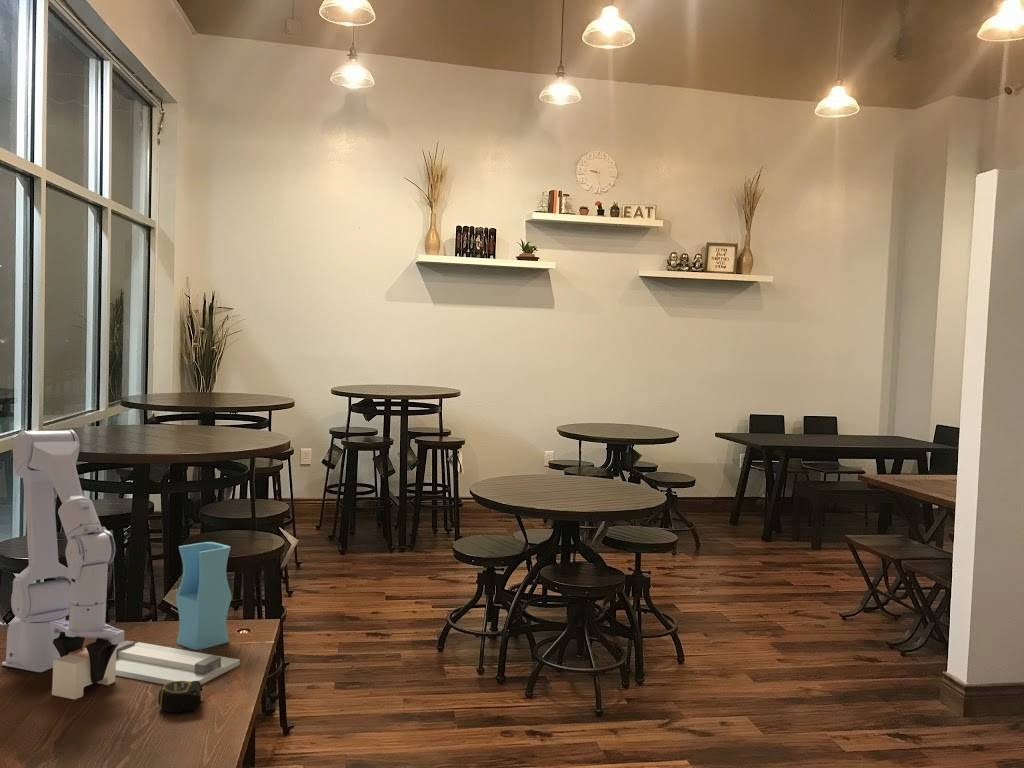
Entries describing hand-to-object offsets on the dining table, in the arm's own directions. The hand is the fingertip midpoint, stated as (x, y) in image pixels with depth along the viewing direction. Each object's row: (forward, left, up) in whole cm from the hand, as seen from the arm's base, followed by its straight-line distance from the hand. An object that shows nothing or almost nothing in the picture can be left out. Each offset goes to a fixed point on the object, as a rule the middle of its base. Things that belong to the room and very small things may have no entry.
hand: (84, 678), depth 146 cm
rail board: (+5, +14, -2) cm, 15 cm away
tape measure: (+21, +1, -2) cm, 21 cm away
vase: (+2, +29, -2) cm, 29 cm away
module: (0, 0, -2) cm, 2 cm away
